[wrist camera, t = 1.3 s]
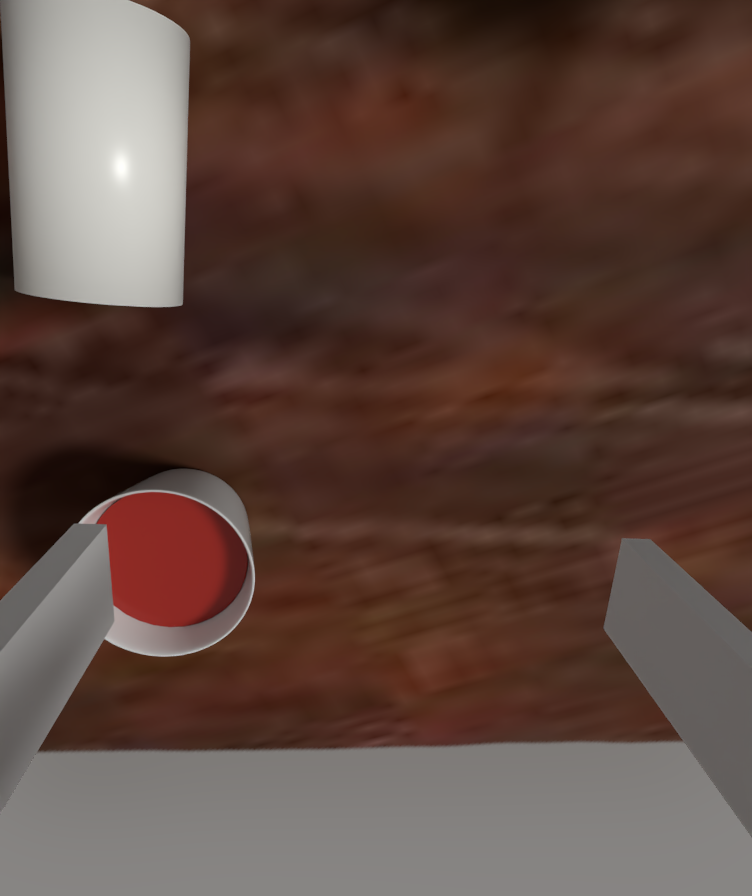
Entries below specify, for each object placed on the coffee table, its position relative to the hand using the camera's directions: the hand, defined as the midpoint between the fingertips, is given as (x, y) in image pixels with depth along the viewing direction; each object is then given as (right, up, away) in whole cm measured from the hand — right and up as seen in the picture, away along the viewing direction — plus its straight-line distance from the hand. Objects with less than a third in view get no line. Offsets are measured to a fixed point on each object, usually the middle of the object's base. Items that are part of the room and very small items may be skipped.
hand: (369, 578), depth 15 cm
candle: (-11, -1, +20) cm, 22 cm away
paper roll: (-12, +16, +11) cm, 22 cm away
